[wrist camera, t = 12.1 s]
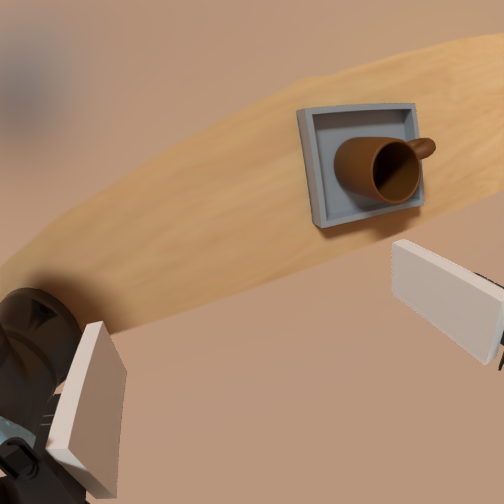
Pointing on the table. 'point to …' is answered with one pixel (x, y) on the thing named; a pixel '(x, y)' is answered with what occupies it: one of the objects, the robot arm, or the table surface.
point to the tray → (328, 141)
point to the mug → (382, 166)
